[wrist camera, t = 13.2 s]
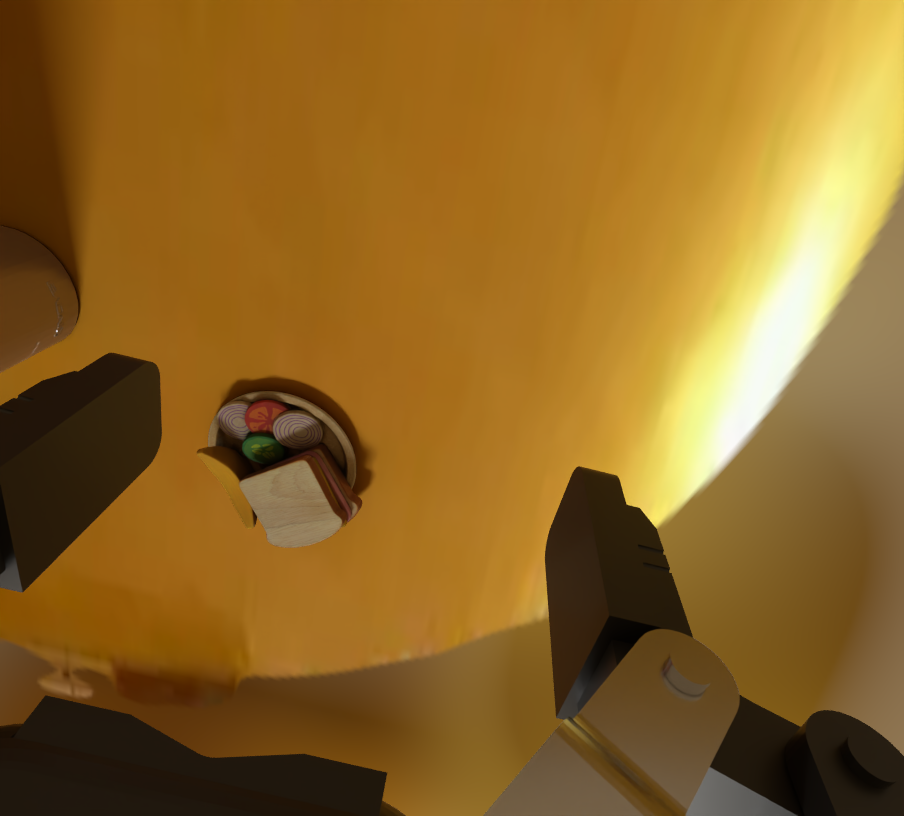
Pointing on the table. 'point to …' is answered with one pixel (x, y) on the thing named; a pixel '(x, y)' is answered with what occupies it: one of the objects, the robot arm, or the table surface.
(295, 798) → the robot arm
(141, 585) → the table surface
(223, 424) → the toy sandwich meal
